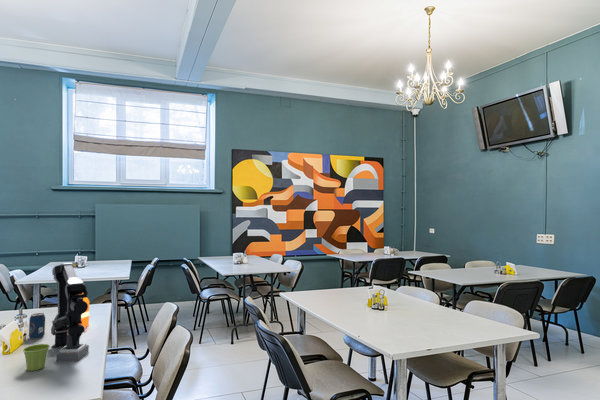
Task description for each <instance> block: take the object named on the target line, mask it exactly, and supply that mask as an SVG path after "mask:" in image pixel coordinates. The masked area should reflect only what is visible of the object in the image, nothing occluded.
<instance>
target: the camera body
mask: <svg viewBox="0 0 600 400" xmlns="http://www.w3.org/2000/svg"><path fill="white" fill-rule="evenodd" d="M89 346H90V345H88V344H87V343H79V348H78V349H67V345H66V346H64V347H61V348H60V349H59V351H58V352H57V353H56V359H55V360H56V363H62V362H63V363H66V362H69V363H70V362H71V363H72V362H79V361H80V360H81V359H83V358H84V357H85V356H86V355H87V354H88V353H89V349H90V347H89Z"/></svg>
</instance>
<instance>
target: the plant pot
mask: <svg viewBox="0 0 600 400" xmlns="http://www.w3.org/2000/svg"><path fill="white" fill-rule="evenodd" d="M49 348H50V345H49V344H47V343H45V344H44V343H40V344H39V343H37V344H33V345H29V346H26V347H24V348H23V349H22V352H23V354H24V356H25V357H24V358H25V364H26V371H29V372H30V371H31V372H34V371H38V370H40V369H44V368H45V366H46V365H45V364H46V358H47V353H48V351H49Z"/></svg>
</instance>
